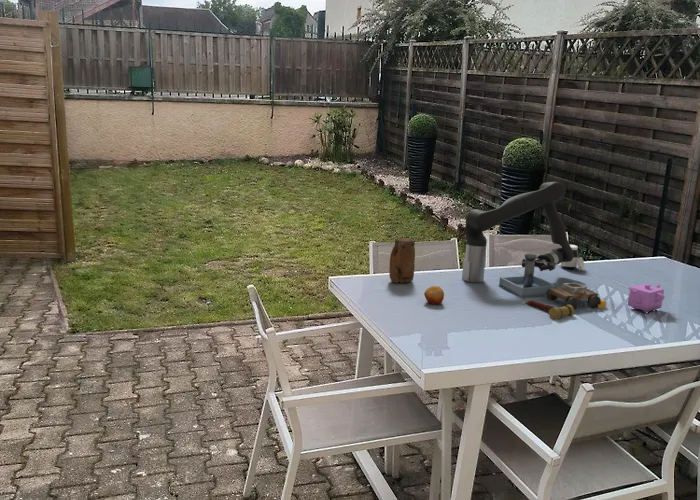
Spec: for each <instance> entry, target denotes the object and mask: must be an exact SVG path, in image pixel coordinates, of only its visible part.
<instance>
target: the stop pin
mask: <svg viewBox="0 0 700 500" xmlns="http://www.w3.org/2000/svg"><path fill="white" fill-rule="evenodd" d="M537 257H538V255H537V254H533V253H525V254H524V259H526V262H525V267H524V272H523V273H524V274H523V276H524V282H523V288H529V287H532V285H533V275H534V273H535V267H534V266H535V259H537ZM534 276H535V275H534Z"/></svg>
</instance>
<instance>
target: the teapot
mask: <svg viewBox="0 0 700 500" xmlns="http://www.w3.org/2000/svg"><path fill="white" fill-rule="evenodd" d="M661 286H662V284H660V283H659V284H657V285H656V286H653V285H651V284H648V283H643V284H637V285H630V286H629V287H628V290H629V293H628V297H627V298H628V299H627V306H628V307H631V308H634V309H637V310H641V311H644V312H649V313H650V312H651V310H656V311H657V310H658V309H661V308H662V305H663V301H664V299H665V298H666V297H665V295H664V293H665V289H664V288H661ZM634 309H633V310H634ZM644 312H643V313H644Z"/></svg>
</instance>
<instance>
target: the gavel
mask: <svg viewBox="0 0 700 500" xmlns="http://www.w3.org/2000/svg"><path fill="white" fill-rule="evenodd" d="M525 304H527V305H529V306H530V307H532V308H536V309H539V310H542V311H544V312H548V316H549V318H550V317H551V318H550V319H552V320H559V319H561V318H564V317H573V316H574V314H575V310H574V308H573V306H572V305H565V304H564V305H563V306H560V307H555V306H553V305H549V304H547V303H546V304H545V303H542V302H539V301H535V300H526V301H525Z"/></svg>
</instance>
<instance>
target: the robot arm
mask: <svg viewBox="0 0 700 500" xmlns="http://www.w3.org/2000/svg"><path fill="white" fill-rule="evenodd" d="M564 185H565V184H563V183H561V182H559V181H547V182H543V183H542V184H541V185H540V186H539V189H538V190H535V191H529V192H524V193H520V194H517V195H514V196H511V197H509V198H507V199H506V200H505V201H504V202H502V203H501V205H500V206H498V207H497V208H494V209H491V210H487V211H484V210H481V209H474V208H473V209H471V210H470V211H469V212H468V213H467V215H466V218H465V235H464V236H465V239H466V245H465V247H466V248H465V256H464V257H465V258H464V259H463V260H462V261H463V262H462V275H461V279H462V280H464V281H466V282H467V283H482V282H484V279H485V269H486V268H485V266H486V257H487V256H486V255H487V243H488V239H487V238H486V237H485V235H484V232H487V231H488V230H490V229H493V228H494V227H496V226H497V225H499V224H501V223H504V222H506V221H509V220H511V219H514V218H516V217H519V216H522V215H524V214H526V213H528V212H530V211H531V212H532V211H533V210H536V209H538V208H539V207H542V208H543V209H544V213H545V215H546V218H547V219H546V220H547V222H548V227H549V233H550V238H551V242H552V244H555V245H559V246H560V247H556V248H553V249H551V250H550V251H547V252H544V253H542V254H539V255H537V259H535V266H534V268H538V269H539V271H540V272H543V271H547V270H548V271H550V272H551V271H554V270H555V269H556V266H558V265H559V264H560V265H561V262H570V261H572V259H573V256H574V254H573V251H572V248H571V246H570V245H571V244H570V242H569V240H568V238H567V231H566V227H565V223H564V221H563V219H562V218H561V215H560V214H559V211H558V210H557V207H556V203H555V202H557V201H560V200H562V199H563V198H564V196H565V194H566V187H565V186H564ZM525 262H526V258H522V260H521V267H522V268H525Z"/></svg>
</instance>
